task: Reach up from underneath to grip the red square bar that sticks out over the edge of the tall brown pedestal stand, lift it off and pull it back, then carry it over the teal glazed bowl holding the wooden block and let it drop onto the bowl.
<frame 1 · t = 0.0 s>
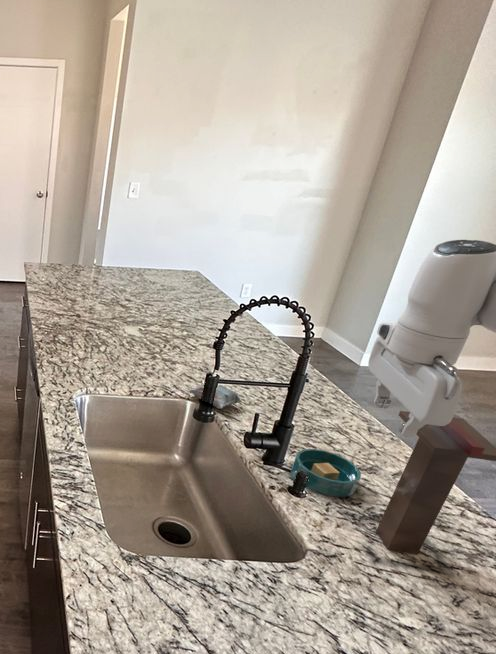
hand: (392, 420, 90), 27 cm above the countertop, tool pointing down, fingers open, 8 cm apart
block: (321, 481, 118), point 1 cm above the countertop, touching bowl
brown pedestal stand: (393, 548, 101), on the countertop
red square bar: (437, 420, 94), point 26 cm above the countertop, touching brown pedestal stand
packaged food: (211, 403, 150), on the countertop
bowl: (320, 483, 119), on the countertop
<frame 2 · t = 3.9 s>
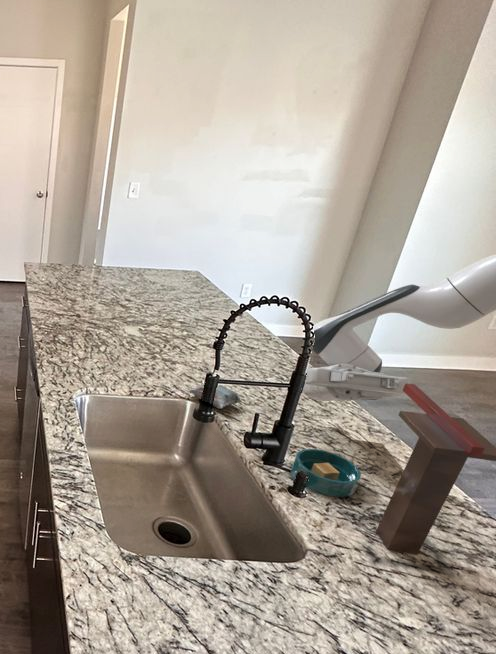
hand: (373, 379, 116), 22 cm above the countertop, tool pointing upward, fingers open, 8 cm apart
nothing on the countertop moved.
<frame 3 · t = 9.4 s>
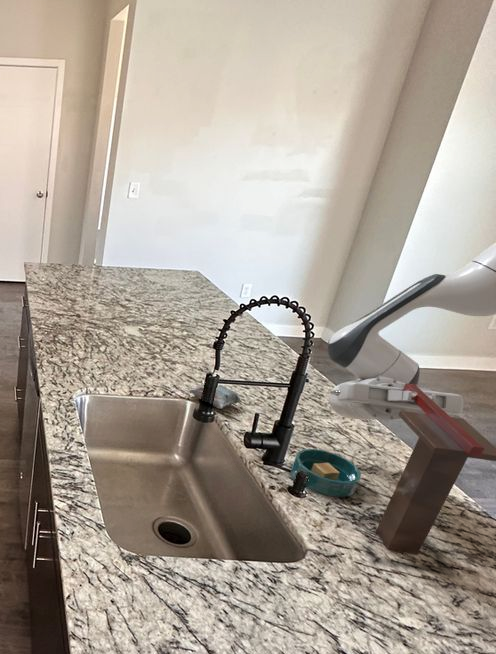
hand: (422, 397, 99), 27 cm above the countertop, tool pointing upward, fingers closed on red square bar, 2 cm apart
red square bar: (437, 420, 94), point 26 cm above the countertop, touching brown pedestal stand, gripper
everything else where it was.
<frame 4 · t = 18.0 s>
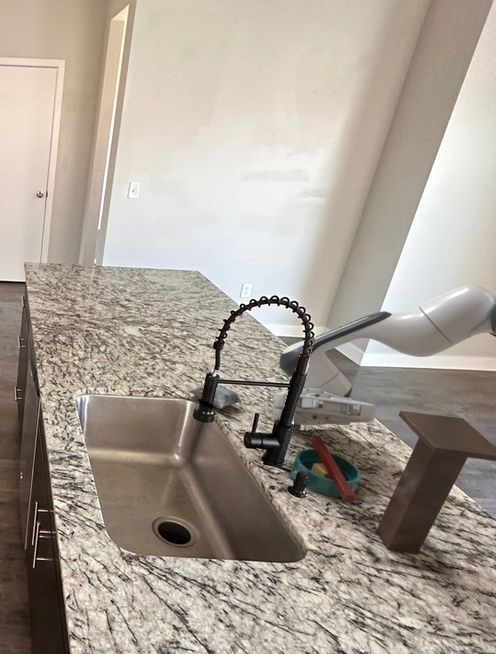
hand: (338, 406, 115), 17 cm above the countertop, tool pointing upward, fingers open, 6 cm apart
red square bar: (329, 469, 115), point 5 cm above the countertop, touching bowl
everything else where it was.
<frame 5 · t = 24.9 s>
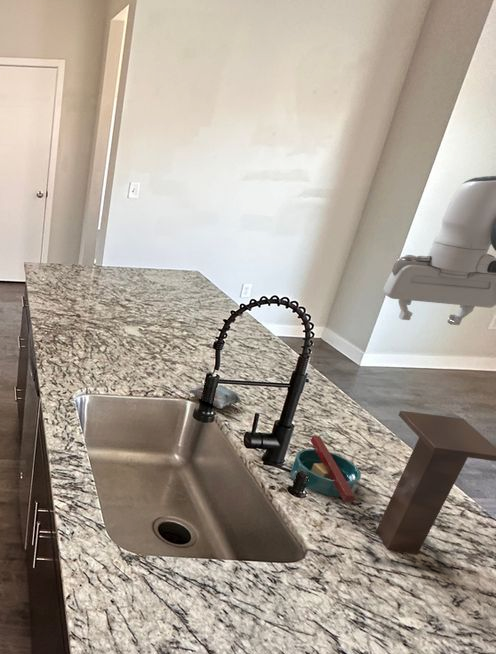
hand: (428, 321, 116), 34 cm above the countertop, tool pointing down, fingers open, 8 cm apart
nothing on the countertop moved.
at the end: red square bar touching bowl; red square bar point 5.0 cm above the countertop; red square bar 1.6 cm from the bowl (horizontally) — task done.
